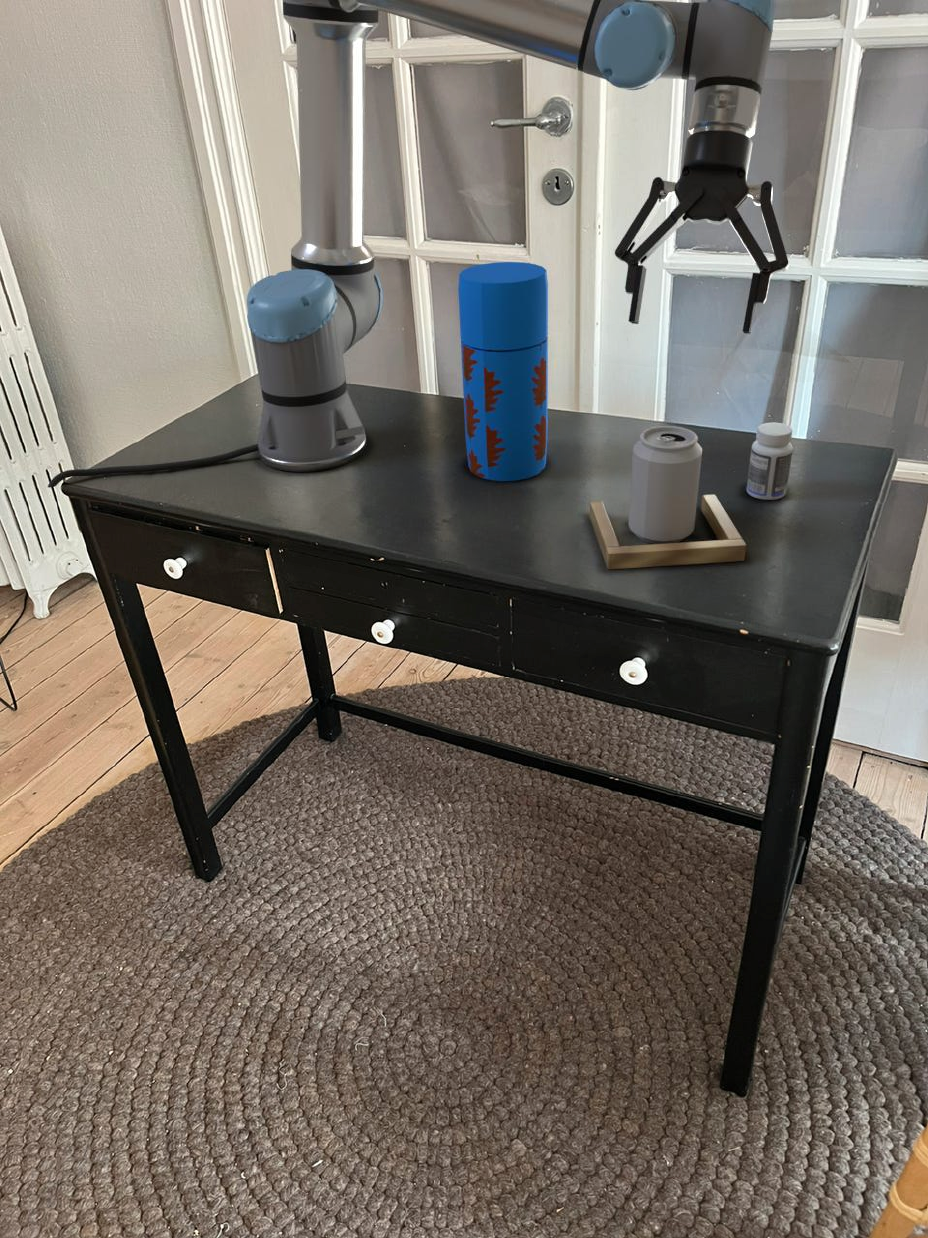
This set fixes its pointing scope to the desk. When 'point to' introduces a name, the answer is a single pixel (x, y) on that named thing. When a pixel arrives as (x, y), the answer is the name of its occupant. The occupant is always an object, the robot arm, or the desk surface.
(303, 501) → the desk surface
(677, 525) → the can
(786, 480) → the pill bottle
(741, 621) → the desk surface
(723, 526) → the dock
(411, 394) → the desk surface
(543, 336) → the thermos
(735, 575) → the desk surface
